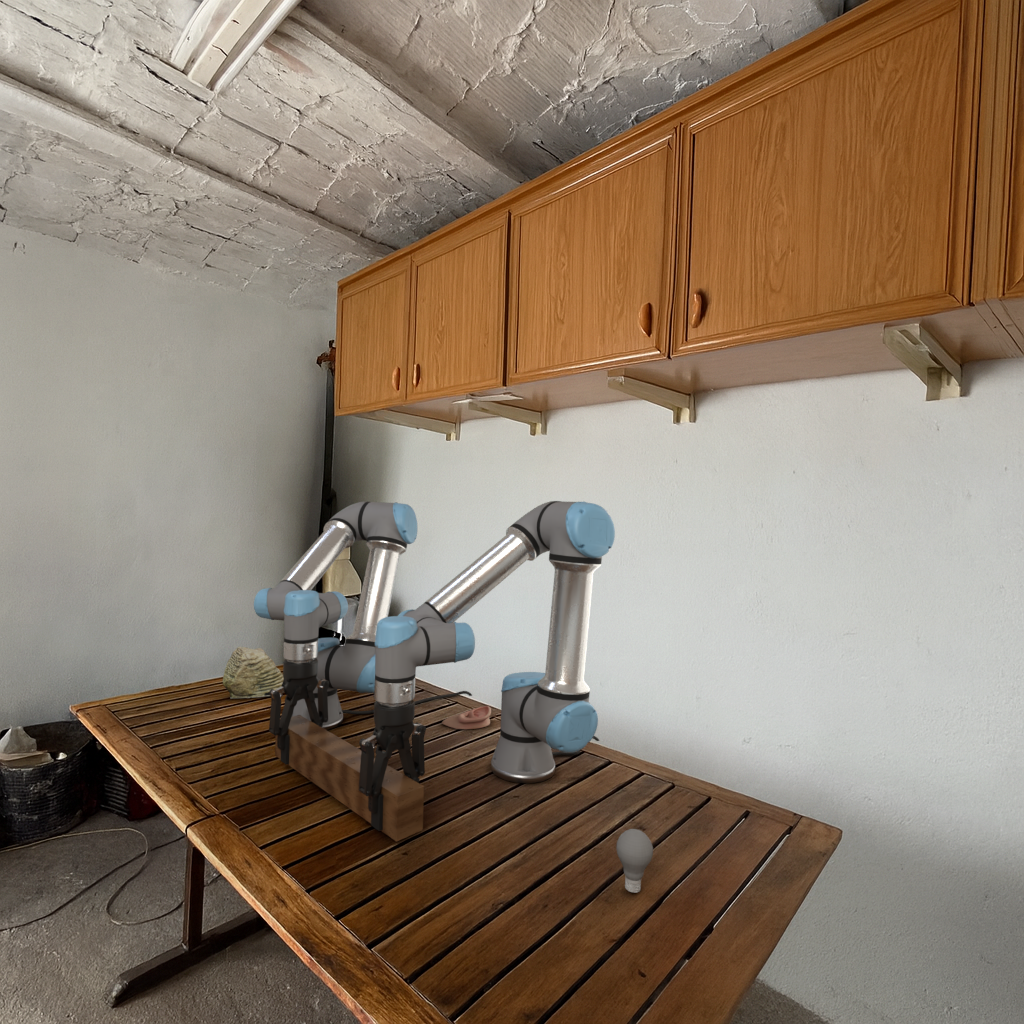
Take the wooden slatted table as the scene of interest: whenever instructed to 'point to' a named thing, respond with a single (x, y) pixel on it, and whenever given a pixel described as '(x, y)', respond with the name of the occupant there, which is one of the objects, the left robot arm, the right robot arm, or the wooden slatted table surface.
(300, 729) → the bar
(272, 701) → the left robot arm
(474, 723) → the anatomical model
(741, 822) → the wooden slatted table surface
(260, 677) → the fossil
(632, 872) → the light bulb
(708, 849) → the wooden slatted table surface
